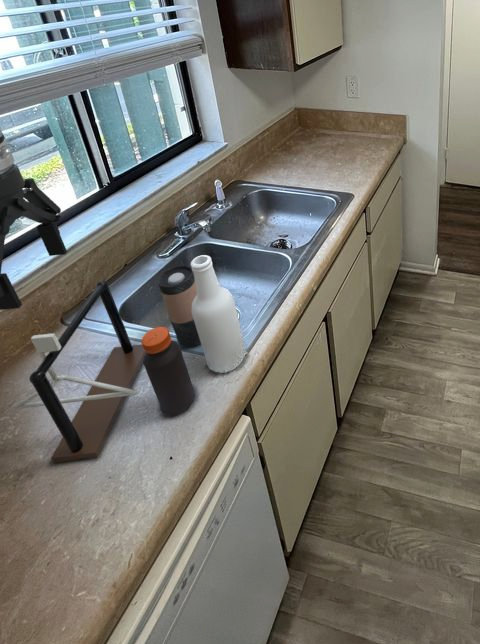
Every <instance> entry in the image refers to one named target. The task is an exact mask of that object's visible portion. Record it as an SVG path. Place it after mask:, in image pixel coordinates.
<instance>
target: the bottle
mask: <svg viewBox="0 0 480 644" xmlns="http://www.w3.org/2000/svg"><path fill="white" fill-rule="evenodd" d="M140 342H141V344H142V345H143V348H144V350H145V352H146V353H145V356H144V358H143V363H142V365H143V366H144V369H145V371H146V374H147V376H148V379H149V381H150V385H151V387H152V389H153V392H154V395H155V397H156V400H157V401H158V404H159V407H160V409H161V412H162V413H163V414H165V415H166V416H178V415H179V414H182V413H184V412H185V411H187V410H188V409H189V408H190V407H191V406H192V404H193V403H194V402H195V399H196V391H195V388H194V384H193V382H192V380H191V376H190V372H189V369H188V367H187V364H186V361H185V358H184V355H183V352H182V349H181V345H180V344H179V342H177V341H175V340H172V336H171V333H170V330H169V328H167V327H165V326H157V327H154V328H152V329H150V330H148V331H147V332H145V334H144V335H143V336H142V338H141V341H140Z"/></svg>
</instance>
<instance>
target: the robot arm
mask: <svg viewBox="0 0 480 644" xmlns="http://www.w3.org/2000/svg"><path fill="white" fill-rule="evenodd" d="M61 212H62V209H61V207H59V205H58V204H56V202H54V201H53V200H52V199H51V198H50V197H49V196H48V195H47V194H46V193H45V192H44V191H43V190H42V189H40V188H39V187H38V184H37V183H36V181H35V179H34V178H33V177H29V178H24V177H23V174H22V172H21V171H20V168H19V166H18V165H17V164H15V158H14V155H13V153H12V151H11V150H10V146H9V145H8V142H7V141H6V137H5V135H4V133H3V130H2V129H1V127H0V311H5V310H13V309H14V310H15V309H21V307H22V305H23V303H22V301H21V299H20V298H19V295H18V294H17V291H16V290H15V287H14V286H13V284H12V282H11V280H10V278H9V276H8V274H7V273H6V272H3V273H2V268H3V267H2V266H3V260H4V259H3V258H4V250H5V241H6V236H7V235H8V234H9V233H10V230H11V229H10V228H11V226H12V225H14V223H15V222H16V220H18V219H20V218H21V217H23V218H25V219H28V220H31V221H33V222H36V223H38V225H37V226H36V229H37V231H38V234H39V235H40V239H41V240H42V243H43V245H44V247H45V249H46V252H47V254H48V256H49V257H52V256H53V257H54V256H63V255H67V253H68V250H67V248H66V246H65V242H64V241H63V238H62V236H61V231H60V230H59V227H58V225H57V223H59V222H61V221H62V216H61V215H59V214H61Z"/></svg>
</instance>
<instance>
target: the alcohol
mask: <svg viewBox="0 0 480 644" xmlns="http://www.w3.org/2000/svg"><path fill="white" fill-rule="evenodd" d="M190 266H191V269H192V271H193V274H194V278H195V283H196V289H197V295H196V297H195V298H194V300H193V302H192V315H193V319H194V322H195V325H196V329H197V332H198V335H199V338H200V342H201V344H200V345H201V348H202V351H203V355H204V358H205V361H206V364H207V367H208V369H209V370H211V371H213V372H215V373H220V374H223V373H228V372H231V371H233V370H235V369H237V368H238V367H239V366H240V365H241V364H242V362H243V361H244V359H245V357H246V353H247V350H246V349H247V347H246V345H245V340H244V336H243V332H242V328H241V323H240V321H239V316H238V315H239V314H238V312H237V307H236V303H235V299H234V296H233V295H232V293H231V292H230V290H229V289H228V288H226V287H223V286H221V284H220V283H219V280H218V277H217V274H216V271H215V268H214V267H213V261H212V257H211V256H210V255H207V254H201V255H198V256H196V257H195V258H193V259H192V260H191V262H190Z"/></svg>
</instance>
